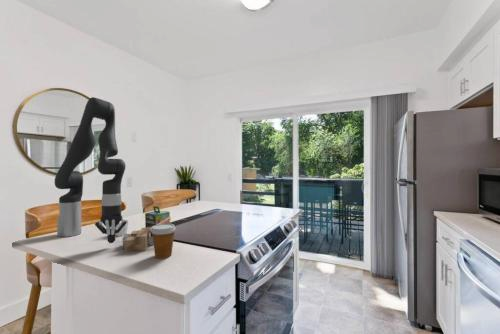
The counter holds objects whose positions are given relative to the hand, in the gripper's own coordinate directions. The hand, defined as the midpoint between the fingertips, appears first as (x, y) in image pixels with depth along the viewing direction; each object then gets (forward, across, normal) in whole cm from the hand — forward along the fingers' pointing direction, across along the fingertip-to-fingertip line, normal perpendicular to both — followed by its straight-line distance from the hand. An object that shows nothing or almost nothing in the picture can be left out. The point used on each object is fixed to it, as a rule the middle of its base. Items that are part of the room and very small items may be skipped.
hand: (111, 242), depth 105 cm
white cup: (+3, +1, -21) cm, 21 cm away
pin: (+2, -11, 0) cm, 12 cm away
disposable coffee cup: (+2, -23, +15) cm, 28 cm away
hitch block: (+2, -11, 0) cm, 11 cm away
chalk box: (+2, -17, -18) cm, 25 cm away
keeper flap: (-6, -21, 0) cm, 22 cm away
